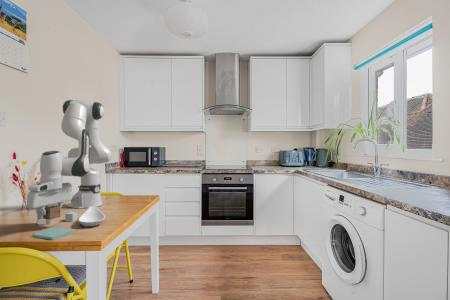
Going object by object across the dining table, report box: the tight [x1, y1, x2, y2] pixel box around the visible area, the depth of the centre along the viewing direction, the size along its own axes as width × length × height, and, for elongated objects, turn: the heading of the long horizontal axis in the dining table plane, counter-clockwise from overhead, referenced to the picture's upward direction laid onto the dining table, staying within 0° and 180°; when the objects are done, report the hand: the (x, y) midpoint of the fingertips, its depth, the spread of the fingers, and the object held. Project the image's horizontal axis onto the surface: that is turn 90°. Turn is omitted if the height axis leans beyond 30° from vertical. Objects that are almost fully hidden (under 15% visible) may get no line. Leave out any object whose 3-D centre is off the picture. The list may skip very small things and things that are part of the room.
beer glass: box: [35, 204, 53, 226], centre depth 127 cm, size 7×7×15 cm
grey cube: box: [64, 211, 79, 223], centre depth 133 cm, size 4×4×4 cm
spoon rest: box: [78, 206, 106, 228], centre depth 130 cm, size 24×12×7 cm, turn 27°
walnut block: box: [43, 205, 61, 221], centre depth 122 cm, size 5×5×5 cm
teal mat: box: [32, 227, 75, 241], centre depth 111 cm, size 12×10×1 cm
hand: (51, 213), depth 122 cm, fingers closed on walnut block, 5 cm apart
